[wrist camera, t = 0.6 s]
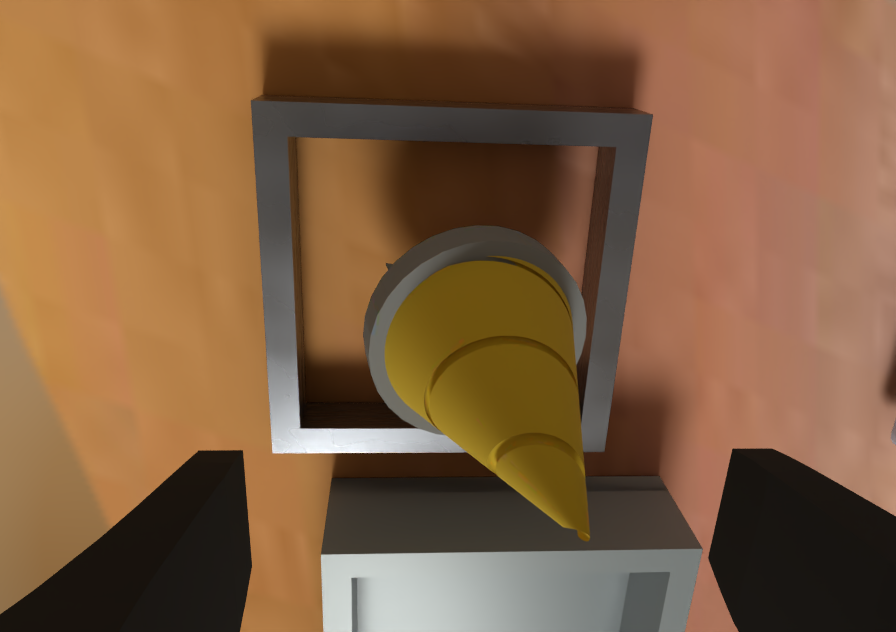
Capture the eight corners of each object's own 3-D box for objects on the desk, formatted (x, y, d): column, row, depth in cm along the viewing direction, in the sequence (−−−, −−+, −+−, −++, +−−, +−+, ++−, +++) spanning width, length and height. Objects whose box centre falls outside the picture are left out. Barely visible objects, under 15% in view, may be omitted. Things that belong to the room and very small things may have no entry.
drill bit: (421, 148, 18) (571, 347, 10) (570, 246, 20) (795, 475, 12) (312, 311, 19) (357, 610, 11) (463, 384, 22) (596, 677, 13)
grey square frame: (633, 108, 19) (652, 114, 17) (591, 425, 22) (604, 451, 21) (262, 95, 18) (251, 100, 16) (280, 425, 21) (272, 452, 20)
